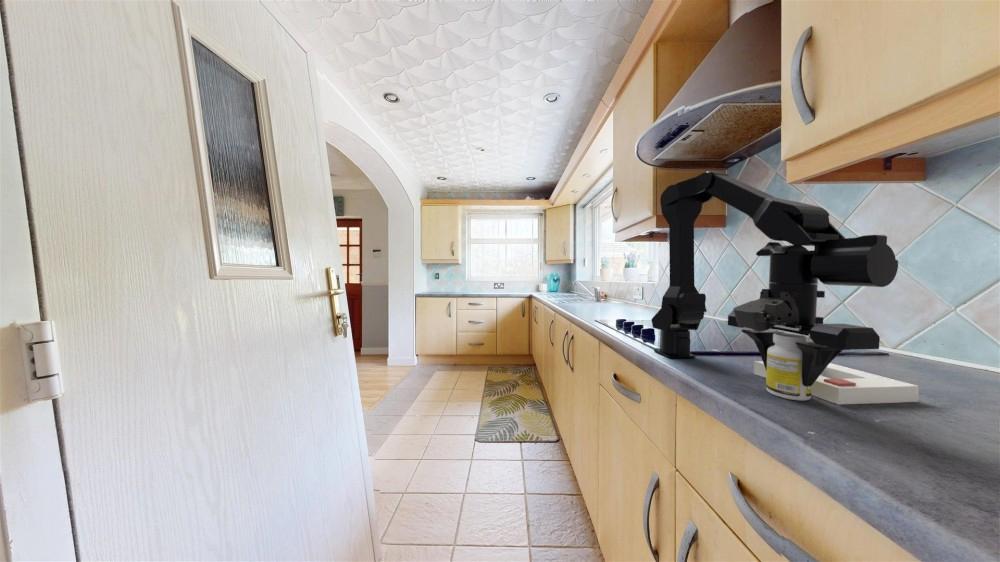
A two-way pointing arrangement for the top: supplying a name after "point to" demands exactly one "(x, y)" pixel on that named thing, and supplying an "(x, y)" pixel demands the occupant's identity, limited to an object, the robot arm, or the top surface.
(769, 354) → the supplement bottle
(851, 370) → the socket plate
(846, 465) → the top surface
